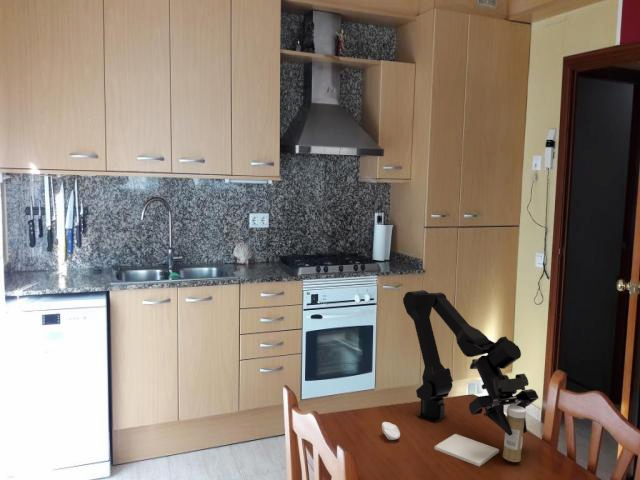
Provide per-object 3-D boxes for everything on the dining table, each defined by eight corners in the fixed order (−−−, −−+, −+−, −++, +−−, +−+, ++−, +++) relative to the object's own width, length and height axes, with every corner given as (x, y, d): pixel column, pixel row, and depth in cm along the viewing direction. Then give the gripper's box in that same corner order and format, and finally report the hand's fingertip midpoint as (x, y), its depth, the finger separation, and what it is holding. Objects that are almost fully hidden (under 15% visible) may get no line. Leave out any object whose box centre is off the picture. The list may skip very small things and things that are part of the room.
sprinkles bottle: (524, 460, 141) (530, 409, 140) (513, 464, 139) (518, 412, 138) (509, 452, 145) (514, 403, 144) (498, 456, 142) (503, 405, 141)
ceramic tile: (434, 449, 148) (434, 446, 148) (455, 436, 156) (455, 433, 156) (479, 466, 139) (479, 463, 139) (498, 452, 147) (499, 449, 147)
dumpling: (379, 432, 157) (380, 419, 157) (397, 432, 158) (398, 419, 157) (384, 444, 150) (384, 430, 150) (402, 444, 151) (403, 430, 150)
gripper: (478, 366, 140) (505, 426, 131) (536, 359, 147) (565, 416, 138) (458, 385, 148) (482, 443, 139) (513, 378, 155) (539, 433, 146)
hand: (518, 433), depth 140 cm, fingers closed on sprinkles bottle, 4 cm apart
